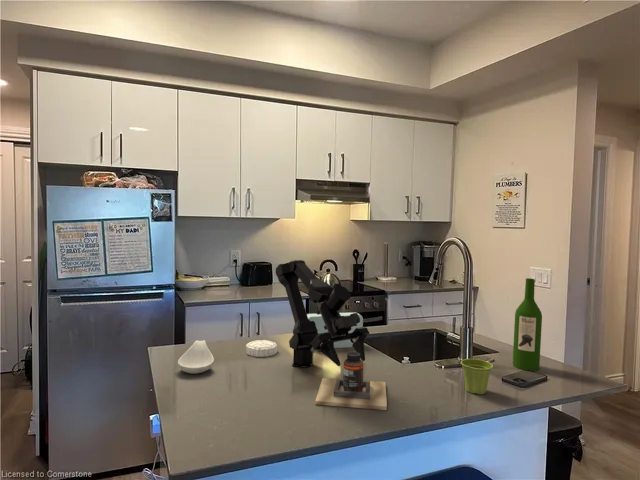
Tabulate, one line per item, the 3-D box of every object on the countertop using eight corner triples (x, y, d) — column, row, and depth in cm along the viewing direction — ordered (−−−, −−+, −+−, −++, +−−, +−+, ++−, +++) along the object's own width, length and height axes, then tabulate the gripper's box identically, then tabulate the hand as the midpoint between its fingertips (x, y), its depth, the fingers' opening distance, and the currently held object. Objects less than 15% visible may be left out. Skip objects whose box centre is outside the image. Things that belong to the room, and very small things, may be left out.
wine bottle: (513, 368, 155) (517, 279, 154) (512, 361, 164) (516, 276, 162) (540, 372, 152) (545, 281, 150) (538, 364, 160) (542, 278, 159)
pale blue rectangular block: (307, 350, 171) (308, 317, 170) (304, 345, 177) (305, 313, 176) (362, 347, 177) (363, 315, 176) (358, 343, 182) (359, 312, 182)
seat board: (315, 404, 121) (315, 395, 121) (322, 380, 139) (322, 373, 139) (386, 410, 119) (387, 401, 118) (385, 385, 136) (385, 377, 136)
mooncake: (266, 359, 159) (266, 349, 159) (239, 354, 164) (239, 345, 164) (282, 350, 170) (282, 341, 170) (257, 346, 175) (257, 337, 175)
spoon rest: (212, 377, 140) (213, 355, 140) (175, 378, 138) (175, 356, 138) (216, 354, 163) (216, 335, 163) (184, 355, 161) (184, 336, 161)
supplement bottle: (359, 386, 132) (360, 350, 132) (365, 393, 127) (366, 356, 126) (340, 387, 131) (341, 350, 131) (346, 395, 125) (347, 357, 125)
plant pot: (476, 399, 128) (477, 370, 127) (453, 387, 136) (454, 360, 136) (498, 394, 132) (499, 366, 131) (474, 383, 140) (475, 357, 140)
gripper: (318, 307, 127) (338, 354, 119) (367, 302, 137) (389, 345, 129) (303, 327, 134) (321, 373, 126) (351, 320, 144) (371, 362, 136)
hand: (352, 363), depth 129 cm, fingers open, 9 cm apart
